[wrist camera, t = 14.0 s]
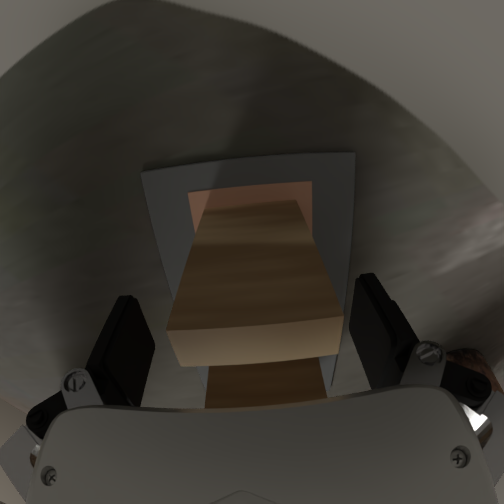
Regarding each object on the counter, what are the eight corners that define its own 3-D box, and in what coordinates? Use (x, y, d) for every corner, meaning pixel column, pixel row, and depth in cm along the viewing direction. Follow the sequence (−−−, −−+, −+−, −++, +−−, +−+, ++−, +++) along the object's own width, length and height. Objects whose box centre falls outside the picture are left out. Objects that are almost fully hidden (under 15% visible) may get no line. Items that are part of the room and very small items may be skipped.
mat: (329, 387, 31) (329, 391, 30) (209, 397, 31) (209, 400, 31) (353, 151, 18) (355, 153, 17) (142, 171, 18) (139, 173, 18)
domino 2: (298, 295, 23) (324, 420, 13) (222, 302, 23) (212, 428, 13) (298, 275, 22) (328, 403, 12) (218, 281, 22) (204, 412, 12)
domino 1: (296, 227, 20) (338, 353, 10) (209, 235, 20) (180, 366, 10) (295, 199, 19) (344, 315, 9) (204, 208, 19) (165, 330, 9)
